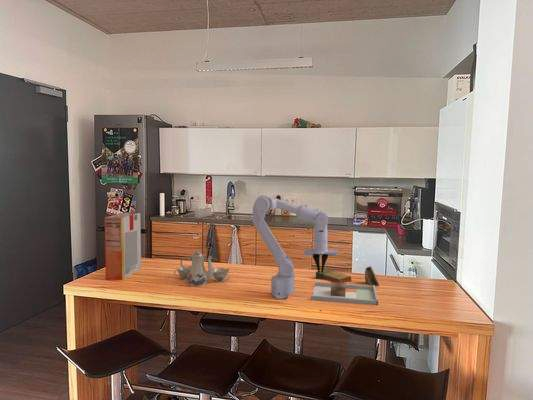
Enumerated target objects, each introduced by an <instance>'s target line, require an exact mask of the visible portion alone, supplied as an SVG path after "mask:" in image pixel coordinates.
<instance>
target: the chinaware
mask: <svg viewBox="0 0 533 400" xmlns="http://www.w3.org/2000/svg"><path fill="white" fill-rule="evenodd" d="M212 257H213V255H209V256H208V257H207V267H208V270H206V268H205V261H204V259H205V254H203V253H202V252H200V250H199V249H197V250H196V251H195V252H194V253H193V254H191V255H190V256H184V257H183V258H182V259H180V266H179V267H176V269H175V270H174V274H173V275H175V276H176V277H179V278H181V279H182V280H186V281H187V282H188V285H189V286H191V285H192V287H202V286H205V285H207V284H208V281H209V280H211V279H212V278H214V279H215V280H216V282H219V283H220V282H224V281H227V280H229V279H230V275H229V272H230V269H229V268H224V267H219V268H214V266H213V264H212ZM184 259H188V261H191V265H190V266H189V265H188V266H186V265H183V260H184ZM176 271H177V272H178V275H177V274H176ZM227 277H228V278H227Z"/></svg>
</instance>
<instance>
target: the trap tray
mask: <svg viewBox="0 0 533 400" xmlns="http://www.w3.org/2000/svg"><path fill="white" fill-rule="evenodd" d="M346 289H349V290H350V289H351V290H352V289H354V290H355V291H345V297H342V296H331V282H320V281H314V288H313V292H312V295H311V296H310V300H311V301H320V302H321V301H324V302H333V303H335V302H336V303H347V304H358V305H359V304H360V305H372V306H379V297H378V293H377V289H376V286H375V285H364V284H363V285H361V284H360V285H359V284H349V283H348V284H347V283H346Z"/></svg>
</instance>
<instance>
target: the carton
mask: <svg viewBox="0 0 533 400" xmlns="http://www.w3.org/2000/svg"><path fill="white" fill-rule="evenodd" d="M315 279H316V280H321V281H322V280H323V281H330V282H337V283H348V282H350V283H351V282H352V276H351V275H348V274H345V273H342V272H338V271H335V270H331V269H327V268H326V269H324V270H323V273H321V270H320V272H318V270H317V271H315Z"/></svg>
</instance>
